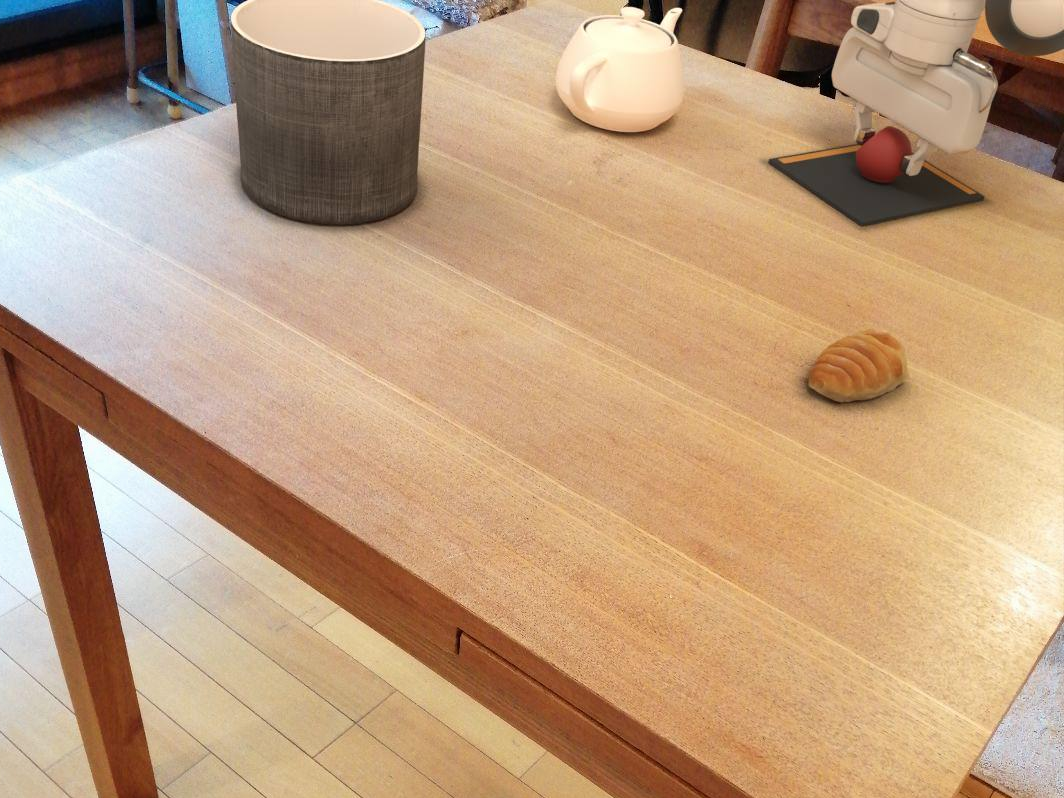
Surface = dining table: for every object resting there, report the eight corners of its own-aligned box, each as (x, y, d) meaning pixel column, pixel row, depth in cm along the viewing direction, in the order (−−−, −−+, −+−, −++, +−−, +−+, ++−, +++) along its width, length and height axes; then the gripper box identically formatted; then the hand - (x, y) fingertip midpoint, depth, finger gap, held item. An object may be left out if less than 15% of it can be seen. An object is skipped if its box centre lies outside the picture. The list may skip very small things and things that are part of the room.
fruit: (870, 202, 126) (923, 158, 120) (841, 163, 126) (892, 117, 120) (894, 187, 130) (946, 143, 124) (865, 149, 130) (916, 103, 124)
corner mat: (887, 142, 137) (889, 138, 137) (983, 200, 128) (985, 196, 127) (767, 162, 128) (769, 158, 128) (861, 226, 119) (863, 222, 119)
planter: (323, 131, 120) (322, -22, 110) (451, 187, 114) (463, 31, 104) (202, 180, 109) (188, 15, 98) (338, 246, 103) (338, 77, 92)
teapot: (623, 165, 123) (644, 54, 115) (509, 121, 128) (521, 12, 120) (717, 104, 139) (741, 3, 131) (613, 67, 144) (629, -32, 136)
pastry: (847, 420, 92) (861, 383, 90) (785, 380, 96) (797, 343, 93) (909, 385, 97) (924, 349, 95) (848, 348, 101) (861, 313, 98)
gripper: (1023, 68, 112) (969, 194, 121) (883, -1, 124) (844, 118, 133) (982, 74, 109) (931, 202, 119) (843, 2, 121) (806, 124, 130)
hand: (884, 157), depth 126 cm, fingers closed on fruit, 6 cm apart
